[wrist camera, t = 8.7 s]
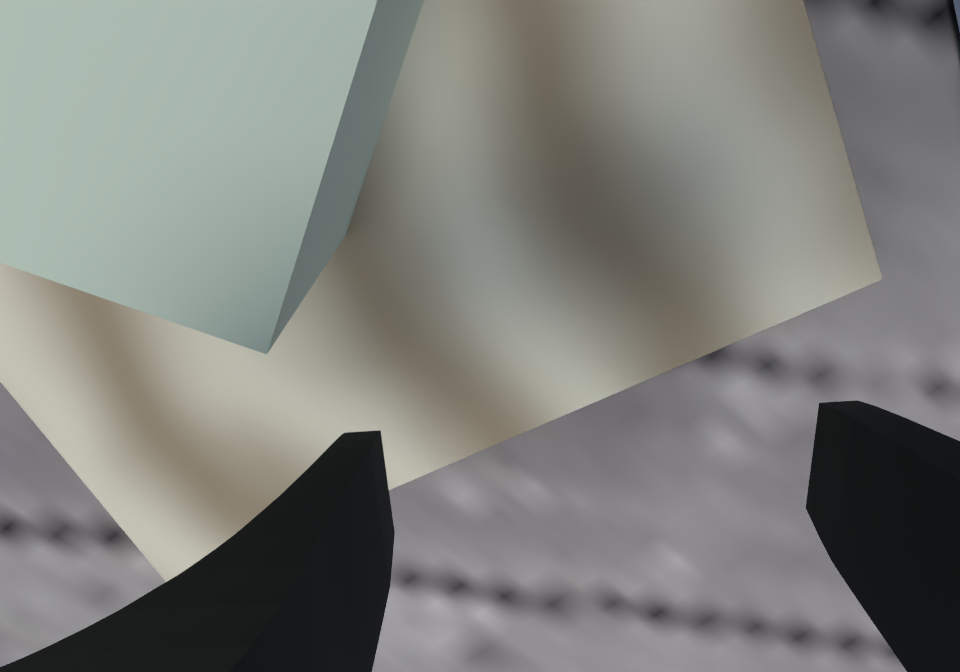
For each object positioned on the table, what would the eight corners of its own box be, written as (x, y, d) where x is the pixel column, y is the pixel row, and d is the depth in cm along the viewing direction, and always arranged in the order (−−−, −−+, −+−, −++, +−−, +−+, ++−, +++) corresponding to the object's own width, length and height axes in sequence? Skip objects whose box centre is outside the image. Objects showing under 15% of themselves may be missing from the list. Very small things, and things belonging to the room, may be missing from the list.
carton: (435, -35, 17) (407, -97, 9) (345, 235, 19) (266, 354, 12) (214, -132, 16) (-5, -284, 9) (149, 162, 18) (-66, 240, 11)
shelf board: (637, -471, 15) (654, -524, 14) (855, 264, 21) (882, 279, 20) (-210, 60, 19) (-264, 61, 17) (184, 554, 25) (168, 584, 24)
